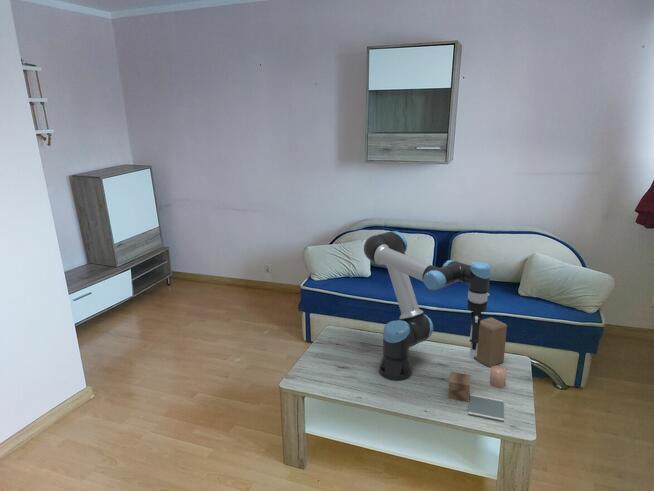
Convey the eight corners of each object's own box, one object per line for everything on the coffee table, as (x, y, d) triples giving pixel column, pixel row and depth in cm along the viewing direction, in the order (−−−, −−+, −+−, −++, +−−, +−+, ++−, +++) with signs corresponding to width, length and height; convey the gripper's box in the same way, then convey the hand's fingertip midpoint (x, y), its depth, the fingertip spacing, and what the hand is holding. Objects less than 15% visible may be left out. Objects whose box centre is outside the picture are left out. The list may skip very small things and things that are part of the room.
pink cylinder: (489, 386, 189) (490, 371, 187) (489, 378, 195) (490, 364, 193) (505, 389, 187) (506, 374, 185) (505, 381, 192) (506, 366, 190)
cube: (448, 398, 181) (449, 381, 179) (450, 388, 188) (451, 371, 186) (468, 402, 178) (469, 385, 176) (469, 391, 186) (470, 374, 183)
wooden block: (489, 368, 203) (492, 329, 197) (473, 358, 211) (475, 320, 206) (504, 362, 207) (508, 324, 202) (488, 353, 216) (491, 316, 210)
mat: (468, 414, 170) (468, 412, 170) (470, 396, 182) (470, 394, 182) (503, 422, 166) (504, 420, 166) (503, 402, 178) (503, 400, 177)
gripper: (488, 314, 163) (483, 364, 169) (486, 290, 186) (482, 335, 192) (467, 311, 165) (463, 361, 171) (468, 288, 188) (464, 332, 194)
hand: (473, 347), depth 181 cm, fingers open, 13 cm apart
